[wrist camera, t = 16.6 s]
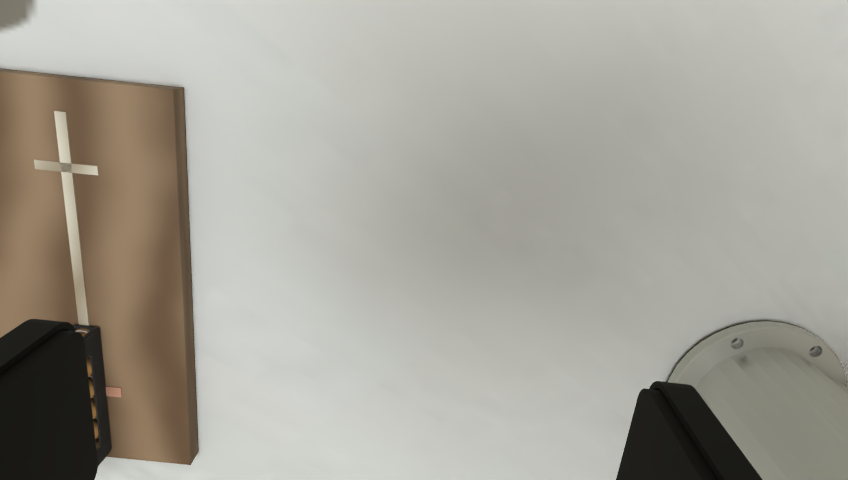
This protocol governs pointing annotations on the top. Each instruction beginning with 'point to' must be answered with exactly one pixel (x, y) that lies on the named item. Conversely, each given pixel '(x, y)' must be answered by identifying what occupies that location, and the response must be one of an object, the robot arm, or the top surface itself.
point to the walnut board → (105, 242)
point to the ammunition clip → (97, 388)
